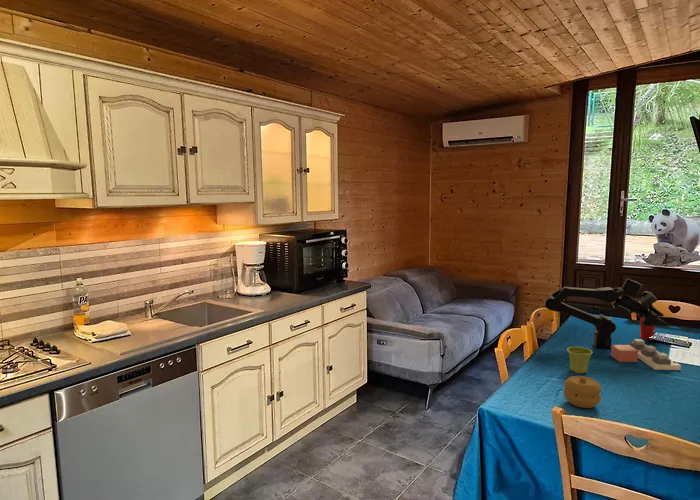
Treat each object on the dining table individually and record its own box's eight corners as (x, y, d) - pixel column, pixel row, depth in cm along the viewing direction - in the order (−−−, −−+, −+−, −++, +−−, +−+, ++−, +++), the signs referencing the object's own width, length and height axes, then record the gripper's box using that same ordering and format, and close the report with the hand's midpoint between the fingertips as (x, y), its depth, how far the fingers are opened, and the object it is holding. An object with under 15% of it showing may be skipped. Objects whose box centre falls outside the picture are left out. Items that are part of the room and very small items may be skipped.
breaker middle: (647, 352, 206) (648, 347, 206) (643, 349, 209) (644, 345, 209) (655, 352, 206) (656, 348, 206) (651, 350, 209) (651, 345, 209)
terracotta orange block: (619, 361, 206) (620, 350, 205) (611, 355, 213) (611, 344, 212) (637, 362, 205) (638, 350, 204) (628, 355, 212) (629, 345, 212)
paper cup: (659, 340, 233) (661, 312, 231) (643, 340, 233) (645, 312, 231) (649, 335, 241) (651, 308, 239) (634, 335, 241) (636, 308, 239)
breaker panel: (654, 369, 197) (655, 360, 196) (625, 349, 220) (626, 341, 220) (680, 370, 196) (681, 360, 195) (648, 350, 220) (649, 341, 219)
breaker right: (659, 360, 197) (660, 355, 197) (655, 357, 201) (655, 352, 200) (667, 360, 197) (668, 355, 197) (663, 357, 200) (663, 352, 200)
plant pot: (565, 372, 194) (566, 352, 193) (566, 365, 202) (567, 345, 201) (591, 376, 190) (592, 355, 189) (591, 368, 198) (592, 348, 197)
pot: (604, 414, 159) (606, 385, 158) (565, 410, 162) (567, 381, 161) (596, 399, 170) (598, 372, 169) (560, 395, 173) (562, 369, 172)
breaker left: (637, 345, 215) (637, 341, 215) (633, 343, 218) (633, 338, 218) (644, 345, 215) (644, 341, 215) (640, 343, 218) (641, 339, 218)
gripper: (644, 298, 206) (681, 315, 203) (637, 282, 223) (671, 297, 219) (629, 318, 211) (665, 335, 208) (624, 301, 228) (657, 316, 224)
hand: (665, 320), depth 215 cm, fingers open, 9 cm apart
